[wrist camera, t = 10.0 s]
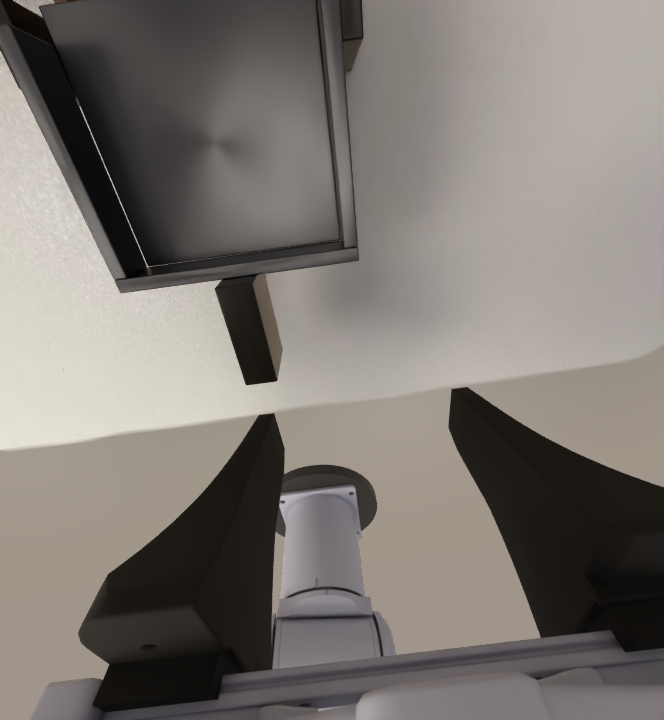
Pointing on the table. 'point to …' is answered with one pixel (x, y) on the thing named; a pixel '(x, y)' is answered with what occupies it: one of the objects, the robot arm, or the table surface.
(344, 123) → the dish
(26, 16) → the bracket
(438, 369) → the table surface
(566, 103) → the table surface
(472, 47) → the table surface
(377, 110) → the table surface
